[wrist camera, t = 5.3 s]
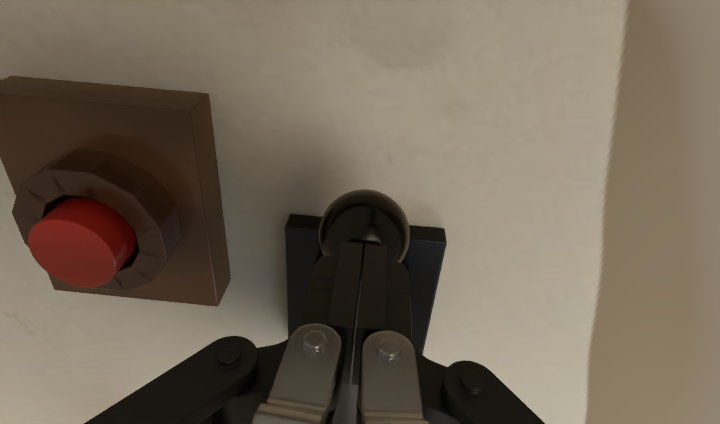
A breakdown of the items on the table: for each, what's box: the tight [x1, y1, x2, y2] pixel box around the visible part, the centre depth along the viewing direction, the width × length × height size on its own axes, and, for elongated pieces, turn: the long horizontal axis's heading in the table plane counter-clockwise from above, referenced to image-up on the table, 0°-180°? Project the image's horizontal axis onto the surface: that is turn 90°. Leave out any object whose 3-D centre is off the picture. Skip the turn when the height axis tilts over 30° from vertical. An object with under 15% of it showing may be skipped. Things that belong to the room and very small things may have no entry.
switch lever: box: [319, 189, 410, 424], centre depth 17 cm, size 12×3×3 cm, turn 176°
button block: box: [0, 76, 231, 306], centre depth 22 cm, size 11×9×4 cm
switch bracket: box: [285, 214, 447, 354], centre depth 21 cm, size 9×8×12 cm
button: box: [28, 197, 135, 287], centre depth 20 cm, size 4×4×2 cm
